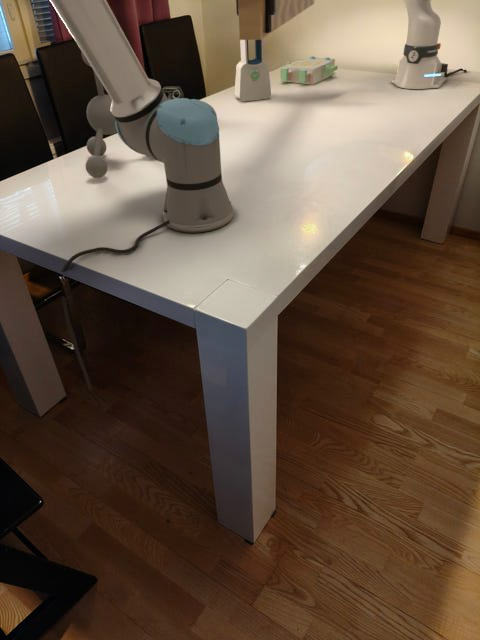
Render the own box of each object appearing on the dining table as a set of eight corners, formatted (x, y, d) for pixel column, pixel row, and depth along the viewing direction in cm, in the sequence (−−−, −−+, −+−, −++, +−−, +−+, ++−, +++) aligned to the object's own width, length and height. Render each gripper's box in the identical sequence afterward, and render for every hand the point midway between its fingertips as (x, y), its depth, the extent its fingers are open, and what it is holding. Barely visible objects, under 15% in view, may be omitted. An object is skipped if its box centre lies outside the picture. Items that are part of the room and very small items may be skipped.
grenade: (164, 121, 167) (160, 89, 161) (170, 116, 172) (166, 85, 166) (182, 121, 166) (179, 89, 160) (188, 116, 170) (184, 85, 164)
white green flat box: (303, 54, 216) (344, 57, 207) (302, 70, 220) (342, 74, 211) (271, 65, 200) (314, 69, 191) (271, 82, 204) (314, 87, 195)
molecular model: (172, 168, 131) (155, 42, 113) (90, 184, 125) (57, 53, 107) (152, 143, 149) (134, 30, 130) (79, 156, 143) (49, 39, 124)
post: (260, 39, 107) (260, -3, 103) (239, 39, 109) (237, -3, 104) (314, 3, 160) (315, -26, 155) (299, 4, 162) (300, -25, 157)
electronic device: (239, 102, 182) (235, 7, 164) (234, 97, 188) (230, 5, 170) (271, 98, 184) (270, 4, 166) (265, 93, 190) (264, 2, 172)
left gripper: (301, -104, 98) (298, 29, 112) (217, -97, 103) (224, 30, 117) (294, -107, 93) (291, 34, 107) (205, -99, 97) (214, 35, 111)
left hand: (256, 32), depth 112 cm, fingers closed on post, 5 cm apart
